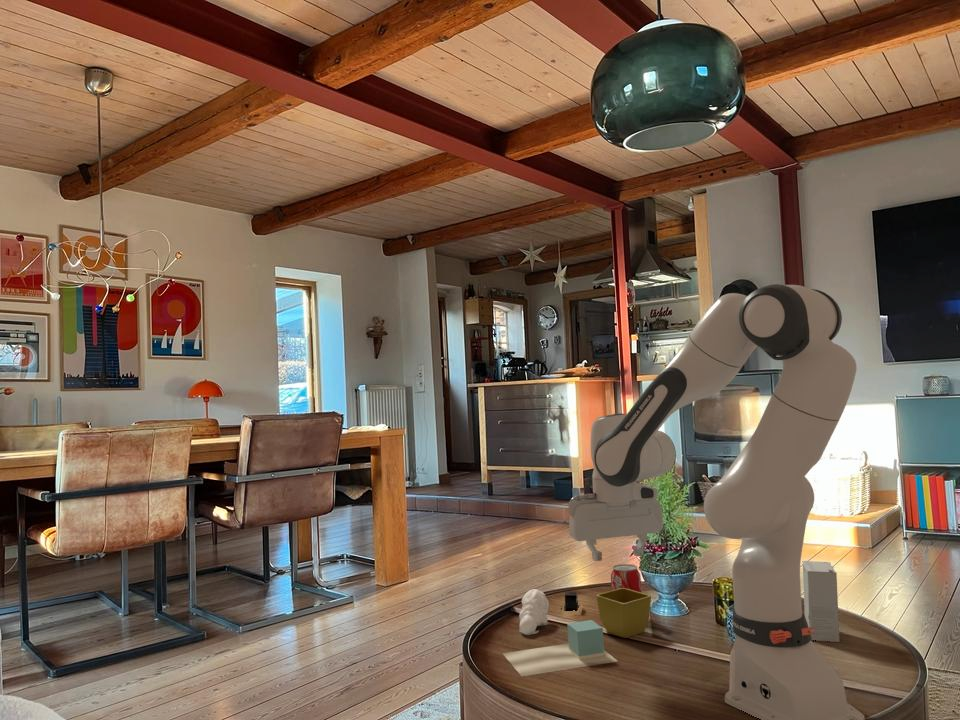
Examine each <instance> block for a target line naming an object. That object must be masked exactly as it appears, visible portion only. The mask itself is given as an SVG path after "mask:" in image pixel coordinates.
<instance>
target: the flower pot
mask: <svg viewBox="0 0 960 720" xmlns="http://www.w3.org/2000/svg"><path fill="white" fill-rule="evenodd" d="M596 601H597V602H596V603H597V607H598V612H599V618H600V621H601V624H602V625H603V628H604V629H605V630H606V632H607V633H609V634H612V635H615V636H618V637H621V638H624V639H625V638H626V639H627V638H630V637H634V636H636V635H639V634H643V633H644V632H645V630H646V628H647V626H648V623H649V619H650V614H651V613H650V612H651V603H652V595H649V594H647V593H643V592H642V593H641V592H637V591H633V590H630V589H626V588H620V589H616V590H612V591H611V590H609V591H605V592H602V593H598V594H596Z"/></svg>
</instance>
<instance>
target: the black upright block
mask: <svg viewBox="0 0 960 720" xmlns="http://www.w3.org/2000/svg"><path fill="white" fill-rule="evenodd" d="M563 604H564V605H565V606H564V611H573V610H575V611H577V610H578V608H579V606H580V605H578V604H579V599H578V591H577V590H576V591H575V590H572V591H571V590H570V591H569V590H568V591H565V593H564V603H563Z"/></svg>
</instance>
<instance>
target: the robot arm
mask: <svg viewBox="0 0 960 720" xmlns="http://www.w3.org/2000/svg"><path fill="white" fill-rule="evenodd" d="M842 316H843V315H842V310H841V307H840V306H839V304H838V303H837V302H836V300H835V299H834V298H833V297H832V296H830V295H829V294H827V293H826V292H824V291H822V290H819V289H815V288H808V287H806V286H803V285H799V284H780V283H779V284H777V283H775V284H769V285H764V286H761V287H759V288H757V289H755V290H754V291H752V292H751V293H749V294H748V295H745V294H742V293H738V292H736V293H735V292H732V293H726V294H724V295H721V296H720V297H719V298H717V300H716V301H715V302H713V304H712V305H711V306H710V307H709V308H708V309H707V311H706V312H705V313H704V314H703V315H702V316H701V318H700V319H699V320H698V321H697V323H696V325H695V326H694V327H693V329H692V330H691V332H690V333H689V334H688V336H687V338H686V339H685V341H684V342H683V344H682V345H681V347H680V348H679V349H678V351H676V353H675V354H674V356H673V357H672V359H671V360H670V361H669V362H668V363H667V365H665V367H664V368H663V369H662V370H661V371H660V372H659V374H658V375H657V376H656V377H655V378H654V379H653V380H652V381H651V382H650V384H649V385H648V386H647V387H646V388H645V390H644V391H643V392H642V394H641V395H640V396H639V398H638V399H637V400H636V402H635V403H634V404H633V405H632V407H631V408H630V409H629V411H628V412H627V413H623V412H622V413H613V414H607V415H602V416H599V417H597V418H596V419H595V420H593V421H592V425H591V430H590V458H591V461H592V464H593V471H592V475H591V476H592V492H593V493H585V494H575V495H574V497H572V498H571V499H570V500H569V501H568V514H569V522H568V525H569V526H568V533H569V536H570V538H572V540H574V541H576V542H584V541H585V542H586V545H587V546H588V549H589V550H590V551H591V557H592V558H591V559H592V561H593V562H600V561H603V557H602V556H603V552H602V551H600V550H598V549H597V548H596V546H595V545H597V540H603V539H604V540H605V539H610V538H611V539H612V538H620V537H629V536H636V537H637V538H638V541H637V544H636V545H635V546H632V550H633V551H632V553H633V556H635V557H641V556H642V557H643V556H644V547H645V546H646V543H647V542H648V540H649V539H648V538H649V537H648V536H649V535H648V534H655V533H657V534H658V533H661V532H662V530H663V528H664V517H663V510H662V505H661V503H660V501H659V500H658V499H657V498H658V497H659V490H658V488H656V487H653V486H649V485H647V484H644V483H641V482H640V481H645V480H649V479H652V478H653V479H654V478H657V477H661V476H663V475H666V474H668V473H669V472H670V471H671V470H672V469H673V468H674V466H675V463H676V459H677V453H676V447H675V444H674V442H673V440H672V438H671V437H670V436H669V435H668V434H667V433H666V432H663V431H661V430H660V428H661V427H662V426H663V425H664V423H666V421H667V420H668V418H669V417H671V416H672V414H673V413H675V412H676V411H678V410H680V409H681V408H683V407H685V406H687V405H689V404H692V403H694V402H697V401H700V400H702V399H705V398H708V397H710V396H711V397H712V396H714V395H716V394H718V393H720V392H721V391H722V390H723V389H725V388H726V387H727V386H728V385H729V384H730V383H731V382H732V381H733V379H735V377H736V376H737V375H738V374H739V372H740V370H741V369H742V368H743V366H744V365H745V364H746V362H747V360H748V359H749V357H750V356H751V354H752V353H753V352H754V350H755V349H756V348H758V347H759V348H760V349H761V350H763V352H764V353H766V354H767V356H769V357H770V358H771V359H772V360H774V361H782V371H781V374H780V377H779V379H778V381H777V383H776V385H775V387H774V390H773V392H772V394H771V396H770V398H769V401H768V403H767V405H766V406H765V410H764V411H763V414H762V416H761V418H760V420H759V422H758V425H757V426H756V428H755V430H754V432H753V434H752V436H751V437H750V439H749V440H748V442H747V443H746V444H745V446H744V447H743V448H742V450H740V453H739V454H738V455H737V456H736V458H734V461H733V462H732V463H731V465H730V467H728V470H726V471H725V473H724V474H723V475H722V477H721V478H720V479H719V480H718V481H717V482H716V483H715V484H713V486H712V487H711V488H709V490H708V491H707V493H706V495H705V497H704V500H703V511H704V512H703V513H704V516H705V519H706V521H707V523H708V525H709V526H710V527H711V529H712V530H713V531H714V532H715V533H717V534H718V535H720V536H721V537H724V538H726V539H730V540H732V539H733V540H741V543H740V547H739V550H738V553H737V556H735V559H734V561H733V563H732V573H731V574H732V586H733V587H732V589H733V601H734V602H733V603H734V604H733V605H734V609H732V617H731V620H732V621H731V623H732V629H733V632H734V634H735V638H734V642H733V645H732V648H731V650H730V655H729V686H728V688H729V689H728V691H727V692H726V693H725V694H724V703H726V704H727V705H729V706H732V707H733V708H735V709H738V710H740V711H741V710H742V711H741V712H743V711H744V712H743V713H745V712H746V713H745V714H747V713H748V714H747V715H749V714H750V715H749V716H751V715H752V717H753V716H754V718H755V717H757V718H759V719H761V720H864V719H865V720H866V718H865V715H864V714H863V713H862V712H861V711H859V710H858V709H857V708H856V707H854V706H853V705H851V704H850V703H849V702H848V701H847V695H846V689H845V685H844V682H843V679H842V678H841V675H840V672H839V670H838V668H837V667H836V666H832V665H830V663H829V662H828V660H827V659H826V658H825V656H823V654H822V653H821V652H820V650H819V649H818V648H817V647H816V646H815V644H814V643H813V640H811V639H812V636H811V634H815V633H814V632H810V631H811V630H813V629H814V627H808V623H807V621H806V618H805V613H803V604H802V589H801V588H802V586H801V562H802V561H801V560H802V555H803V554H802V552H803V547H804V540H805V533H806V527H807V523H808V522H807V521H808V518H809V515H810V513H811V511H812V509H813V507H814V503H815V492H814V489H813V486H812V484H811V482H810V481H809V480H808V478H807V477H806V476H807V474H808V473H809V472H810V470H811V469H812V468H813V467H814V466H816V465H817V463H819V461H820V460H821V458H822V456H823V454H824V452H825V450H826V448H827V446H828V444H829V442H830V439H831V437H832V435H833V434H834V432H835V429H836V428H837V425H838V423H839V421H840V420H841V417H842V415H843V413H844V412H845V411H844V410H845V408H846V406H847V403H848V401H849V398H850V394H851V392H852V389H853V385H854V382H855V377H856V373H857V369H858V368H857V361H856V360H855V358H854V356H853V355H852V354H851V352H850V351H848V350H847V349H846V348H844V347H843V346H842V345H841V346H840V345H839V344H836V343H834V342H833V340H834V339H835V338H836V336H838V334H839V332H840V329H841V327H842V323H843V319H842V318H843V317H842ZM757 718H756V719H757ZM759 719H758V720H759Z"/></svg>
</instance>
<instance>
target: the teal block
mask: <svg viewBox="0 0 960 720" xmlns="http://www.w3.org/2000/svg"><path fill="white" fill-rule="evenodd" d="M566 624H567V627H566V628H567V641H568V643H567V644H568V646H569V651H570V652H571V653H572V654H573V655H574V656H576V657H577V658H578V659H586V658H592V657H599V656H604V650H605V645H604V643H605V642H604V629H603V628H604V627H602V626H600V625H599V624H598V623H596V622H595V621H594V620H592V619H589V620H583V621H576V622H568V623H566Z"/></svg>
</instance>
